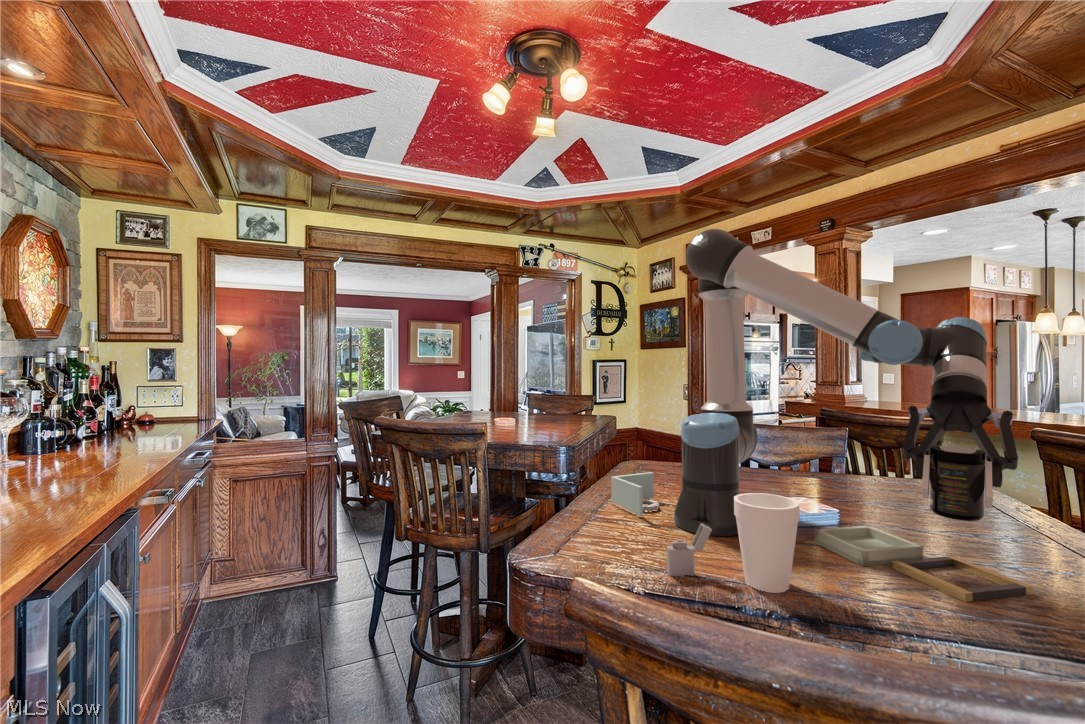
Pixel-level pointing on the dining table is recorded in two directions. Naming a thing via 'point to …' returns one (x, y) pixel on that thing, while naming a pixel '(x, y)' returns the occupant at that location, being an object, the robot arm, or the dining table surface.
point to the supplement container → (957, 482)
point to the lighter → (686, 553)
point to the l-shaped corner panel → (634, 492)
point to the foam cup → (767, 539)
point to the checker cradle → (1003, 590)
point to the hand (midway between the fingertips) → (956, 497)
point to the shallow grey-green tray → (867, 545)
